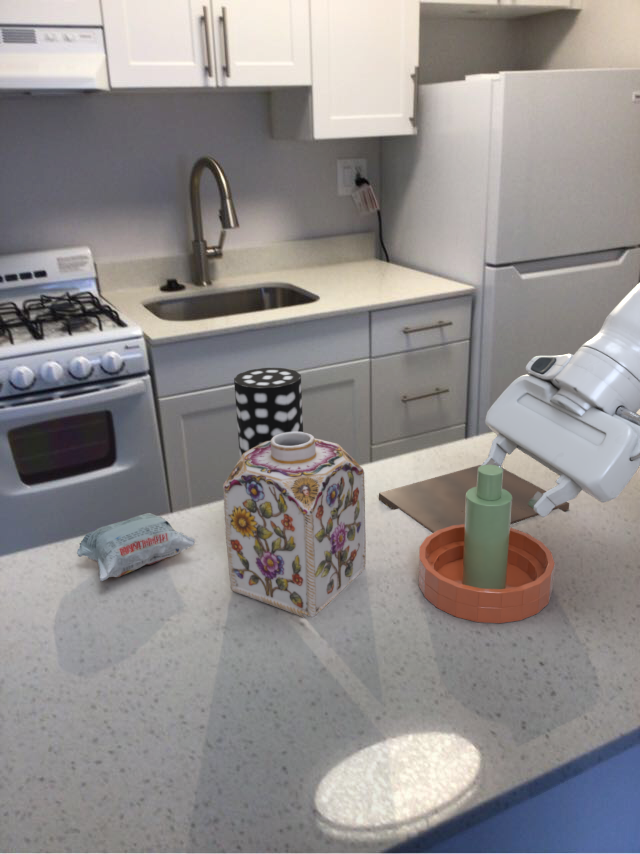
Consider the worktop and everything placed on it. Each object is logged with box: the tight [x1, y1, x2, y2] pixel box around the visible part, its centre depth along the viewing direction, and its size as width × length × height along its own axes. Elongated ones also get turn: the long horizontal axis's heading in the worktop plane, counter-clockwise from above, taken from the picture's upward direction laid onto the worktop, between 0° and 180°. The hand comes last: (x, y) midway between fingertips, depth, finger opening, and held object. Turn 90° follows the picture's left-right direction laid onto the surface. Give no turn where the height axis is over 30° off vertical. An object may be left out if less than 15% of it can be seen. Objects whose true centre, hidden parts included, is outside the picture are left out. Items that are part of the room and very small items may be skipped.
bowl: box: [418, 524, 556, 624], centre depth 84 cm, size 14×14×4 cm
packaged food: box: [76, 512, 195, 582], centre depth 91 cm, size 9×12×5 cm
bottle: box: [462, 464, 512, 589], centre depth 82 cm, size 5×5×14 cm
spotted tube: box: [233, 367, 304, 459], centre depth 97 cm, size 8×8×20 cm
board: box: [378, 464, 570, 534], centre depth 103 cm, size 20×16×1 cm
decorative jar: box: [222, 431, 367, 619], centre depth 84 cm, size 12×12×18 cm
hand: (509, 492), depth 81 cm, fingers open, 8 cm apart
